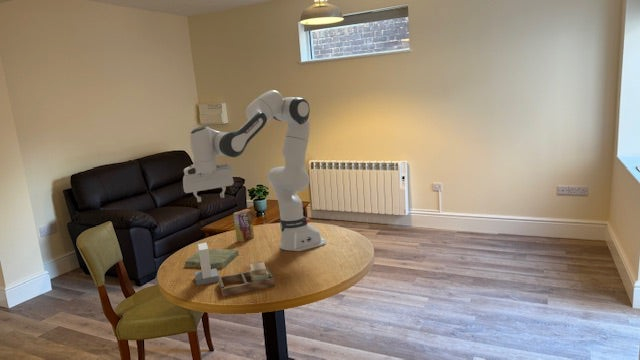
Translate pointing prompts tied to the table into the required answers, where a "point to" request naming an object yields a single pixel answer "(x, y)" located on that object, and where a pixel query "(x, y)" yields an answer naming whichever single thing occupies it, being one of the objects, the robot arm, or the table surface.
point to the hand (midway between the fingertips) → (211, 199)
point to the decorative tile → (213, 258)
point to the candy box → (243, 225)
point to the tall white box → (204, 260)
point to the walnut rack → (245, 286)
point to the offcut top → (258, 269)
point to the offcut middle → (259, 277)
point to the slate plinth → (201, 280)
